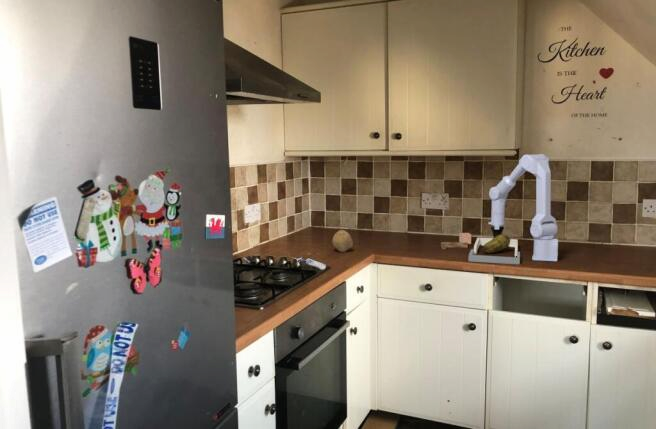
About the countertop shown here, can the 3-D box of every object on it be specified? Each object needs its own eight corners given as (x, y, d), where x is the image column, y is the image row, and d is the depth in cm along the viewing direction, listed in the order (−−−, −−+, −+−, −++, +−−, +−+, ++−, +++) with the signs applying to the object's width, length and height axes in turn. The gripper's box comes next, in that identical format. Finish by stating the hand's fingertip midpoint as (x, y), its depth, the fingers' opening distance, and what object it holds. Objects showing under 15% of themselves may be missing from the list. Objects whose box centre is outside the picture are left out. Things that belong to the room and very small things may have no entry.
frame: (519, 257, 234) (519, 251, 233) (519, 264, 221) (519, 258, 221) (471, 254, 240) (471, 249, 240) (468, 261, 228) (468, 255, 228)
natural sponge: (328, 251, 251) (328, 229, 250) (344, 248, 256) (344, 227, 254) (339, 254, 243) (339, 232, 242) (355, 252, 248) (355, 230, 247)
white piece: (517, 246, 256) (517, 239, 255) (517, 256, 235) (517, 248, 235) (477, 244, 261) (477, 237, 261) (473, 254, 241) (473, 246, 241)
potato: (478, 251, 248) (478, 233, 247) (506, 250, 248) (506, 232, 247) (484, 255, 239) (485, 236, 238) (513, 254, 240) (514, 236, 239)
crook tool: (467, 246, 258) (467, 242, 257) (468, 249, 252) (468, 245, 251) (440, 246, 259) (441, 242, 259) (442, 249, 253) (442, 244, 253)
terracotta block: (468, 241, 269) (468, 232, 268) (471, 243, 264) (471, 234, 264) (459, 242, 269) (459, 233, 268) (461, 243, 264) (461, 234, 264)
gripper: (489, 210, 260) (488, 239, 262) (487, 215, 247) (487, 245, 248) (505, 211, 258) (504, 239, 260) (504, 215, 244) (503, 245, 246)
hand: (497, 242), depth 254 cm, fingers closed
